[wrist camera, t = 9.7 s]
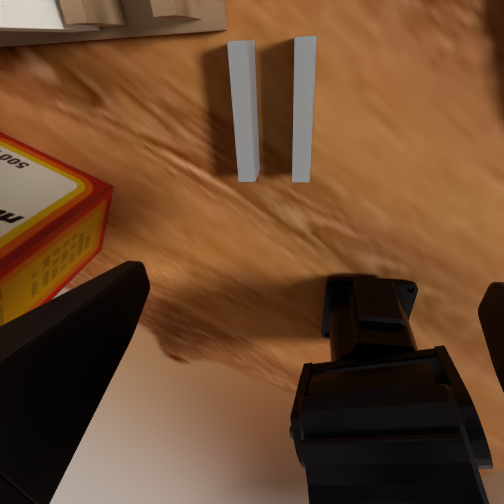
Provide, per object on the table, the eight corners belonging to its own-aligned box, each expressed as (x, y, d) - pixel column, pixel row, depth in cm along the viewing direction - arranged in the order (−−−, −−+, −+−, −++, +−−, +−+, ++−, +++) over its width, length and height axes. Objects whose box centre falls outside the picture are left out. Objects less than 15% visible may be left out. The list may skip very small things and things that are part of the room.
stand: (310, 170, 20) (309, 182, 18) (244, 170, 20) (238, 181, 19) (316, 35, 16) (316, 35, 14) (235, 41, 17) (227, 41, 15)
